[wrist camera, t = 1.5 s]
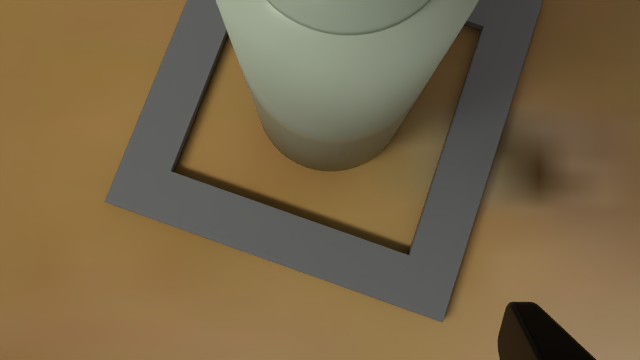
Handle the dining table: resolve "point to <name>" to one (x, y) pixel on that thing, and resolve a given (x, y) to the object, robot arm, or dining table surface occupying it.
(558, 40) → the dining table surface
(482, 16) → the dot frame
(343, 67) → the sage cup
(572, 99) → the dining table surface
